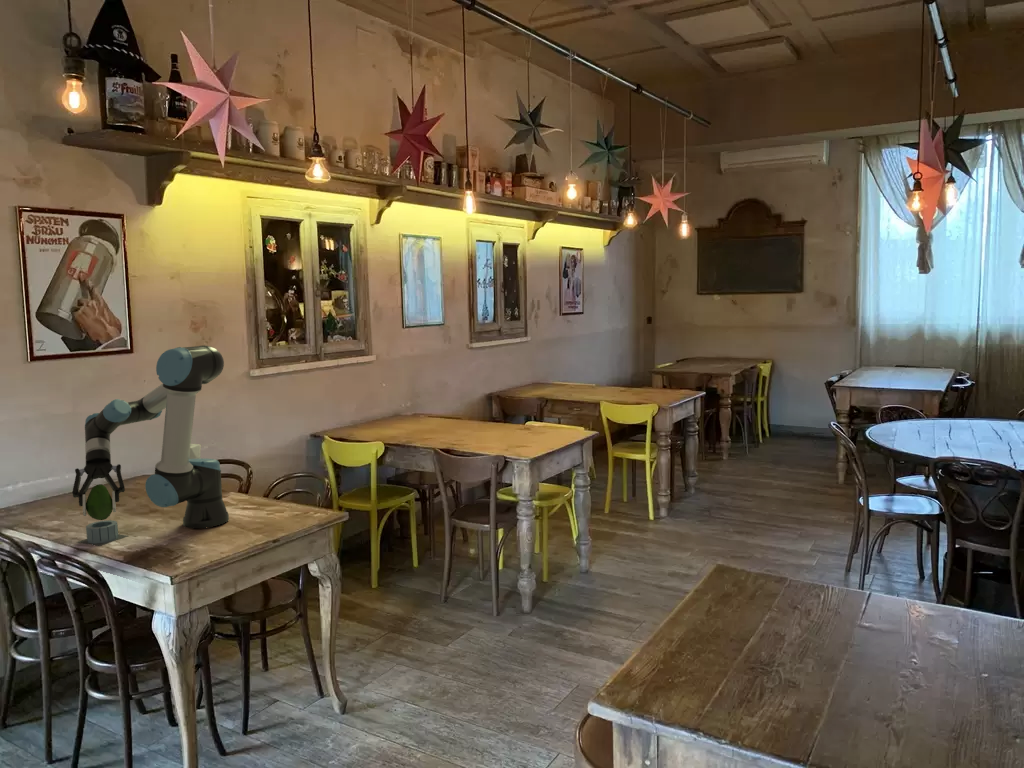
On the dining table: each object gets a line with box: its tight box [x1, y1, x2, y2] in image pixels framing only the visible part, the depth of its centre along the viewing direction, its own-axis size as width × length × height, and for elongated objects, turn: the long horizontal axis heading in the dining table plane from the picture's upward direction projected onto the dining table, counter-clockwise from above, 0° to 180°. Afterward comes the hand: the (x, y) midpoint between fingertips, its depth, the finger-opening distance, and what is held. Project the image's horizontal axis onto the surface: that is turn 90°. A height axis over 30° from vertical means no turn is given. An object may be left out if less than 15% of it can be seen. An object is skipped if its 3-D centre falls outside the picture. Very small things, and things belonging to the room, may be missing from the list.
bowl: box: [85, 519, 119, 544], centre depth 247 cm, size 9×9×5 cm
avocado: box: [86, 483, 113, 521], centre depth 246 cm, size 8×8×12 cm
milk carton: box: [189, 443, 202, 459], centre depth 313 cm, size 9×9×20 cm
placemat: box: [76, 533, 129, 547], centre depth 247 cm, size 11×11×1 cm
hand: (99, 511), depth 243 cm, fingers closed on avocado, 8 cm apart
